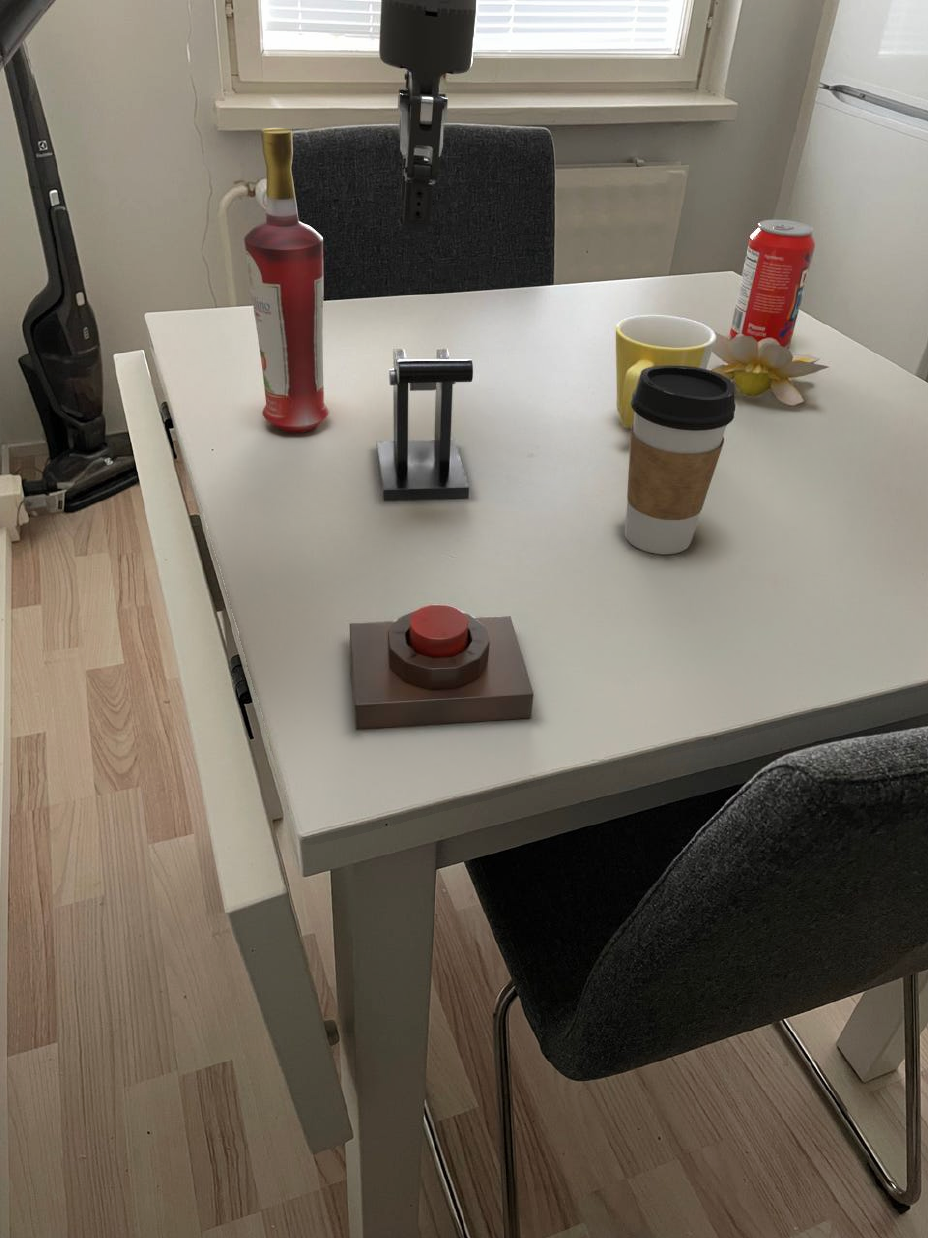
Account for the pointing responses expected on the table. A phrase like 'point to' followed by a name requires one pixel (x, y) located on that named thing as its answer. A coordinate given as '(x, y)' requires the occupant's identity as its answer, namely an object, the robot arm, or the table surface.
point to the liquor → (287, 297)
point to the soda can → (773, 281)
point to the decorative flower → (763, 366)
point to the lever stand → (421, 449)
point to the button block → (437, 676)
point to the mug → (656, 351)
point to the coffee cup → (674, 453)
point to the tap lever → (433, 372)
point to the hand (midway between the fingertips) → (414, 215)
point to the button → (438, 631)
